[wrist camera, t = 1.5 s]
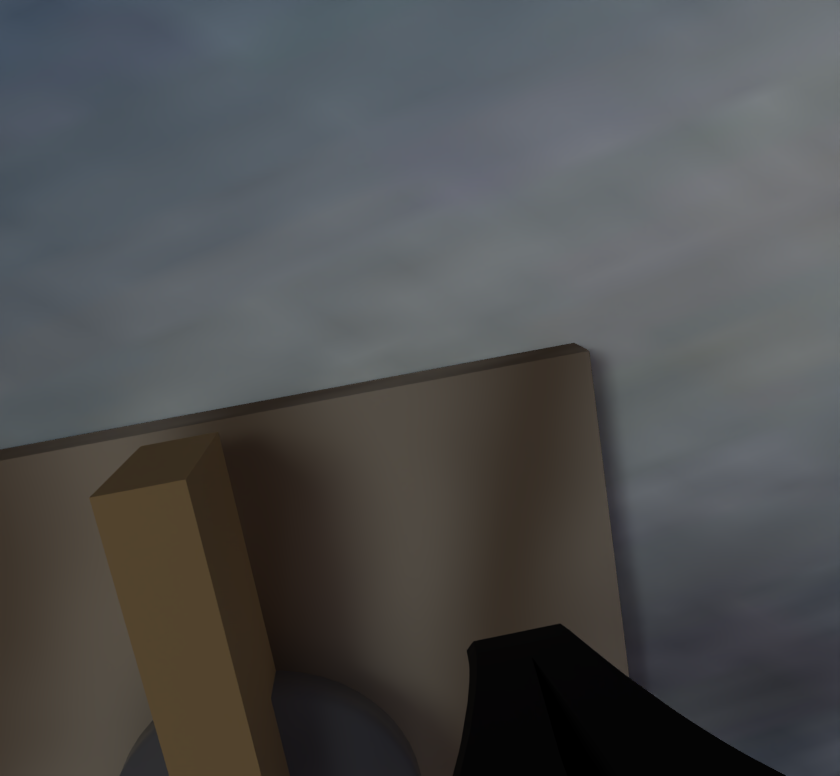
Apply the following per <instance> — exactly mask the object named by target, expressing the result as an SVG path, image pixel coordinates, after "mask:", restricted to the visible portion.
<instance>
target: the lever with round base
mask: <svg viewBox="0 0 840 776" xmlns="http://www.w3.org/2000/svg"><path fill="white" fill-rule="evenodd" d="M89 499H90V503H91V506H92V510H93V513H94V516H95V520H96V523H97V527H98V530H99V534H100V537H101V541H102V544H103V548H104V551H105V555H106V558H107V562H108V565H109V569H110V572H111V576H112V579H113V582H114V586H115V589H116V593H117V596H118V600H119V603H120V607H121V610H122V614H123V617H124V621H125V624H126V628H127V631H128V635H129V638H130V642H131V645H132V649H133V652H134V655H135V659H136V662H137V666H138V669H139V673H140V676H141V680H142V683H143V687H144V690H145V694H146V697H147V701H148V704H149V708H150V711H151V715H152V718H153V721H152V722H151V723H150V724H149V725H148V726H147V728H146V729H145V730H144V731H143V733H142V734H141V735H140V736H139V738H138V739H137V741H136V743H135V744H134V746H133V748H132V749H131V751H130V753H129V755H128V757H127V760H126V762H125V764H124V767H123V769H122V771H121V773H120V776H421V773H420V769H419V766H418V762H417V759H416V756H415V754H414V752H413V750H412V747H411V745H410V743H409V741H408V740H407V738H406V737H405V735H404V734H403V732H402V731H401V729H400V728H399V726H398V725H397V724H396V723H395V722H394V721H393V720H392V718H391V717H390V716H389V715H388V714H387V713H386V712H385V711H384V710H382V709H381V708H380V707H379V706H378V705H377V704H375V703H374V702H373V701H371V700H370V699H368V698H367V697H365V696H364V695H362V694H361V693H359V692H358V691H356V690H354V689H352V688H349V687H347V686H345V685H343V684H341V683H339V682H336V681H333V680H330V679H327V678H324V677H321V676H316V675H311V674H307V673H302V672H292V671H276V669H275V665H274V661H273V657H272V652H271V648H270V644H269V640H268V636H267V632H266V628H265V623H264V619H263V615H262V611H261V607H260V603H259V599H258V594H257V590H256V586H255V582H254V578H253V574H252V570H251V565H250V561H249V557H248V553H247V549H246V545H245V541H244V537H243V532H242V528H241V524H240V520H239V516H238V512H237V508H236V503H235V499H234V495H233V491H232V487H231V483H230V479H229V474H228V470H227V466H226V462H225V458H224V454H223V450H222V445H221V441H220V437H219V433H218V432H214V433H209V434H203V435H198V436H193V437H187V438H182V439H177V440H171V441H166V442H161V443H155V444H150V445H145V446H140V447H139V448H138V449H137V450H136V451H135V452H134V453H133V454H132V455H131V456H130V457H129V458H128V459H127V460H126V461H125V462H124V463H123V464H122V465H121V466H120V467H119V468H118V469H117V470H116V471H115V472H114V473H113V474H112V475H111V476H110V477H109V478H108V479H107V480H106V481H105V482H104V483H103V484H102V485H101V486H100V487H99V488H98V489H97V490H96V491H95V492H94V493H93V494H92V495H91V496H90V497H89Z"/></svg>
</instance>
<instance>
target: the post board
mask: <svg viewBox="0 0 840 776" xmlns="http://www.w3.org/2000/svg"><path fill="white" fill-rule="evenodd" d="M214 432H218V433H219V437H220V441H221V445H222V450H223V454H224V458H225V462H226V466H227V470H228V474H229V479H230V483H231V487H232V491H233V495H234V499H235V503H236V508H237V512H238V516H239V520H240V524H241V528H242V532H243V537H244V541H245V545H246V549H247V553H248V557H249V561H250V565H251V570H252V574H253V578H254V582H255V586H256V590H257V594H258V599H259V603H260V607H261V611H262V615H263V619H264V623H265V628H266V632H267V636H268V640H269V644H270V648H271V652H272V657H273V661H274V665H275V669H276V671H292V672H302V673H307V674H311V675H316V676H321V677H324V678H327V679H330V680H333V681H336V682H339V683H341V684H343V685H345V686H347V687H349V688H352V689H354V690H356V691H358V692H359V693H361V694H362V695H364V696H365V697H367V698H368V699H370V700H371V701H373V702H374V703H375V704H377V705H378V706H379V707H380V708H381V709H382V710H384V711H385V712H386V713H387V714H388V715H389V716H390V717H391V718H392V720H393V721H394V722H395V723H396V724H397V725H398V726H399V728H400V729H401V731H402V732H403V734H404V735H405V737H406V738H407V740H408V741H409V743H410V745H411V747H412V750H413V752H414V754H415V756H416V759H417V762H418V766H419V769H420V773H421V776H453V772H454V768H455V765H456V761H457V757H458V753H459V748H460V744H461V738H462V732H463V726H464V720H465V714H466V708H467V701H468V690H469V662H468V656H467V649H468V648H469V646H470V645H471V644H472V642H473V641H477V640H482V639H487V638H491V637H496V636H501V635H506V634H511V633H516V632H521V631H525V630H530V629H535V628H540V627H545V626H550V625H555V624H559V623H561V624H562V625H563V626H565V627H566V628H567V629H569V630H570V631H571V632H573V633H574V634H575V635H576V636H578V637H579V638H580V639H581V640H582V641H584V642H585V643H586V644H587V645H588V646H590V647H591V648H592V649H593V650H595V651H596V652H597V653H598V654H600V655H601V656H602V657H603V658H605V659H606V660H607V661H608V662H610V663H611V664H612V665H613V666H615V667H616V668H617V669H619V670H620V671H621V672H622V673H624V674H625V675H626V676H628V677H629V671H628V662H627V654H626V646H625V638H624V630H623V622H622V614H621V606H620V597H619V589H618V581H617V573H616V565H615V557H614V549H613V540H612V532H611V524H610V516H609V508H608V500H607V492H606V484H605V475H604V467H603V459H602V451H601V443H600V435H599V427H598V419H597V410H596V402H595V394H594V386H593V378H592V370H591V362H590V353H589V350H587V349H585V348H583V347H581V346H579V345H577V344H575V343H571V344H566V345H560V346H555V347H549V348H544V349H539V350H533V351H528V352H523V353H517V354H512V355H506V356H501V357H496V358H490V359H485V360H480V361H474V362H469V363H463V364H458V365H453V366H447V367H442V368H437V369H431V370H426V371H420V372H415V373H410V374H404V375H399V376H394V377H388V378H383V379H377V380H372V381H367V382H361V383H356V384H351V385H345V386H340V387H334V388H329V389H324V390H318V391H313V392H308V393H302V394H297V395H292V396H286V397H281V398H275V399H270V400H265V401H259V402H254V403H249V404H243V405H238V406H232V407H227V408H222V409H216V410H211V411H206V412H200V413H195V414H189V415H184V416H179V417H173V418H168V419H163V420H157V421H152V422H146V423H141V424H136V425H130V426H125V427H120V428H114V429H109V430H103V431H98V432H93V433H87V434H82V435H77V436H71V437H66V438H60V439H55V440H50V441H44V442H39V443H34V444H28V445H23V446H17V447H12V448H7V449H1V450H0V776H120V773H121V771H122V769H123V767H124V764H125V762H126V760H127V757H128V755H129V753H130V751H131V749H132V748H133V746H134V744H135V743H136V741H137V739H138V738H139V736H140V735H141V734H142V733H143V731H144V730H145V729H146V728H147V726H148V725H149V724H150V723H151V722H152V721H153V718H152V715H151V711H150V708H149V704H148V701H147V697H146V694H145V690H144V687H143V683H142V680H141V676H140V673H139V669H138V666H137V662H136V659H135V655H134V652H133V649H132V645H131V642H130V638H129V635H128V631H127V628H126V624H125V621H124V617H123V614H122V610H121V607H120V603H119V600H118V596H117V593H116V589H115V586H114V582H113V579H112V576H111V572H110V569H109V565H108V562H107V558H106V555H105V551H104V548H103V544H102V541H101V537H100V534H99V530H98V527H97V523H96V520H95V516H94V513H93V510H92V506H91V503H90V499H89V497H90V496H91V495H92V494H93V493H94V492H95V491H96V490H97V489H98V488H99V487H100V486H101V485H102V484H103V483H104V482H105V481H106V480H107V479H108V478H109V477H110V476H111V475H112V474H113V473H114V472H115V471H116V470H117V469H118V468H119V467H120V466H121V465H122V464H123V463H124V462H125V461H126V460H127V459H128V458H129V457H130V456H131V455H132V454H133V453H134V452H135V451H136V450H137V449H138V448H139V447H140V446H145V445H150V444H155V443H161V442H166V441H171V440H177V439H182V438H187V437H193V436H198V435H203V434H209V433H214Z"/></svg>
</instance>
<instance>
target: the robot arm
mask: <svg viewBox="0 0 840 776" xmlns="http://www.w3.org/2000/svg"><path fill="white" fill-rule="evenodd" d="M467 656H468V662H469V690H468V701H467V708H466V714H465V720H464V726H463V732H462V738H461V744H460V748H459V753H458V757H457V761H456V765H455V768H454V772H453V776H786V775H784V774H782V773H780V772H778V771H776V770H774V769H772V768H770V767H768V766H767V765H765V764H763V763H761V762H759V761H757V760H755V759H753V758H751V757H749V756H748V755H746V754H744V753H742V752H741V751H739V750H737V749H735V748H734V747H732V746H730V745H728V744H727V743H725V742H723V741H722V740H720V739H718V738H717V737H715V736H714V735H712V734H710V733H709V732H707V731H706V730H704V729H702V728H701V727H699V726H698V725H696V724H695V723H693V722H691V721H690V720H688V719H687V718H685V717H684V716H682V715H681V714H679V713H678V712H676V711H675V710H673V709H672V708H670V707H669V706H668V705H666V704H665V703H663V702H662V701H661V700H659V699H658V698H656V697H655V696H654V695H652V694H651V693H650V692H648V691H647V690H645V689H644V688H643V687H641V686H640V685H638V684H637V683H636V682H634V681H633V680H632V679H630V678H629V677H628V676H626V675H625V674H624V673H622V672H621V671H620V670H619V669H617V668H616V667H615V666H613V665H612V664H611V663H610V662H608V661H607V660H606V659H605V658H603V657H602V656H601V655H600V654H598V653H597V652H596V651H595V650H593V649H592V648H591V647H590V646H588V645H587V644H586V643H585V642H584V641H582V640H581V639H580V638H579V637H578V636H576V635H575V634H574V633H573V632H571V631H570V630H569V629H567V628H566V627H565V626H563V625H562V624H561V623H559V624H555V625H550V626H545V627H540V628H535V629H530V630H525V631H521V632H516V633H511V634H506V635H501V636H496V637H491V638H487V639H482V640H477V641H473V642H472V644H471V645H470V646H469V648H468V649H467Z"/></svg>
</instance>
